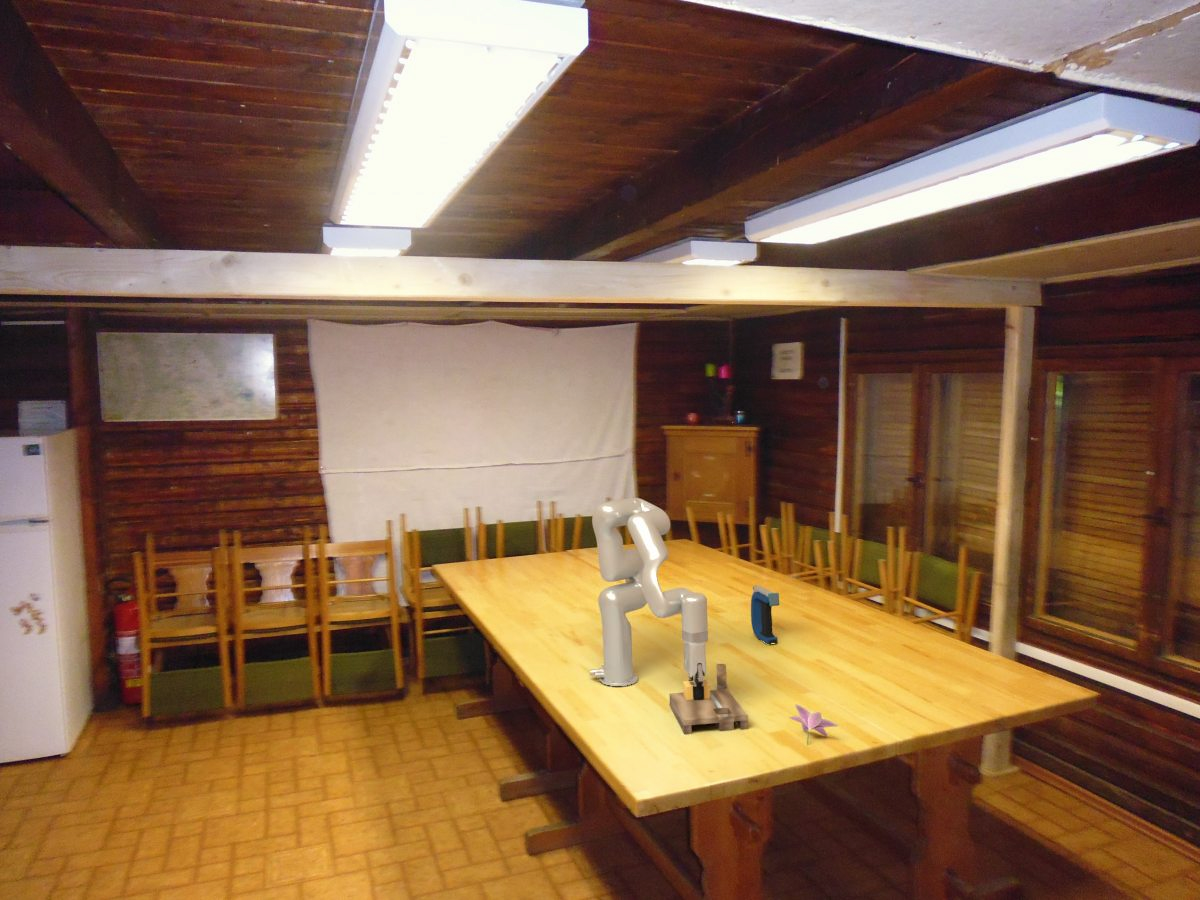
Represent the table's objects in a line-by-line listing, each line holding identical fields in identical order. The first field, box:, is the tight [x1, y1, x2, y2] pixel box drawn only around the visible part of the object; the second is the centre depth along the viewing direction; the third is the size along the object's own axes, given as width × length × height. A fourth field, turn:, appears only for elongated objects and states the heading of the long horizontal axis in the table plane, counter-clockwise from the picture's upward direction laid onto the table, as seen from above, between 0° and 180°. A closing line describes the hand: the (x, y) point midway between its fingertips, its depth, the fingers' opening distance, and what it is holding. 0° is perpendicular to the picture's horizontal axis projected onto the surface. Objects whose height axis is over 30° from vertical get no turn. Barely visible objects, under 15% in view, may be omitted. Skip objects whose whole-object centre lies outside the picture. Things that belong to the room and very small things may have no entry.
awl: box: [716, 663, 728, 690], centre depth 253 cm, size 3×3×9 cm
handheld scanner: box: [750, 585, 780, 645], centre depth 304 cm, size 5×16×20 cm, turn 15°
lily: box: [788, 704, 839, 746], centre depth 218 cm, size 12×12×10 cm
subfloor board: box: [669, 688, 749, 735], centre depth 235 cm, size 18×20×4 cm
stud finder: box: [682, 679, 711, 700], centre depth 241 cm, size 7×4×4 cm, turn 96°
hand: (696, 695), depth 241 cm, fingers closed on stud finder, 4 cm apart
